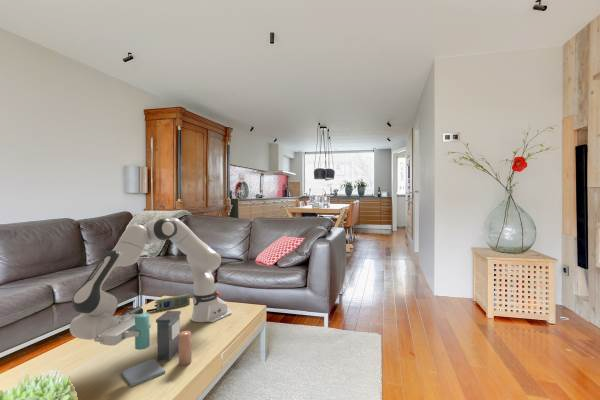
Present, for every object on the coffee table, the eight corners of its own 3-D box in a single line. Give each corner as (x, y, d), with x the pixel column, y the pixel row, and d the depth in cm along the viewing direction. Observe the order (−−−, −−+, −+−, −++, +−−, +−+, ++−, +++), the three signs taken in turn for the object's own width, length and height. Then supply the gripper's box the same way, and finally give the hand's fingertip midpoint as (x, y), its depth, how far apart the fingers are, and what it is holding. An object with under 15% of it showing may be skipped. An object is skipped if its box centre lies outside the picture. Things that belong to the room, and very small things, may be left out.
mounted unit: (168, 348, 140) (167, 310, 139) (181, 349, 139) (180, 311, 139) (156, 360, 130) (155, 319, 129) (170, 360, 129) (170, 319, 129)
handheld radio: (190, 305, 197) (147, 314, 182) (188, 303, 200) (146, 312, 185) (189, 294, 197) (146, 302, 182) (188, 293, 200) (145, 301, 185)
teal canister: (145, 342, 123) (144, 312, 123) (152, 345, 121) (151, 315, 121) (132, 347, 119) (132, 316, 119) (139, 350, 117) (139, 319, 116)
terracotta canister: (188, 357, 132) (187, 329, 131) (193, 362, 128) (193, 333, 128) (176, 362, 128) (176, 333, 128) (181, 366, 124) (181, 337, 124)
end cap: (133, 324, 166) (133, 312, 166) (120, 324, 167) (120, 312, 167) (143, 317, 176) (143, 305, 176) (131, 317, 177) (131, 305, 177)
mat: (153, 361, 129) (153, 359, 129) (165, 373, 120) (165, 370, 120) (121, 373, 120) (121, 371, 120) (131, 386, 112) (131, 384, 112)
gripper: (90, 331, 111) (126, 333, 110) (128, 310, 131) (159, 312, 130) (90, 349, 111) (126, 351, 110) (129, 325, 132) (159, 327, 130)
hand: (144, 329), depth 120 cm, fingers closed on teal canister, 5 cm apart
